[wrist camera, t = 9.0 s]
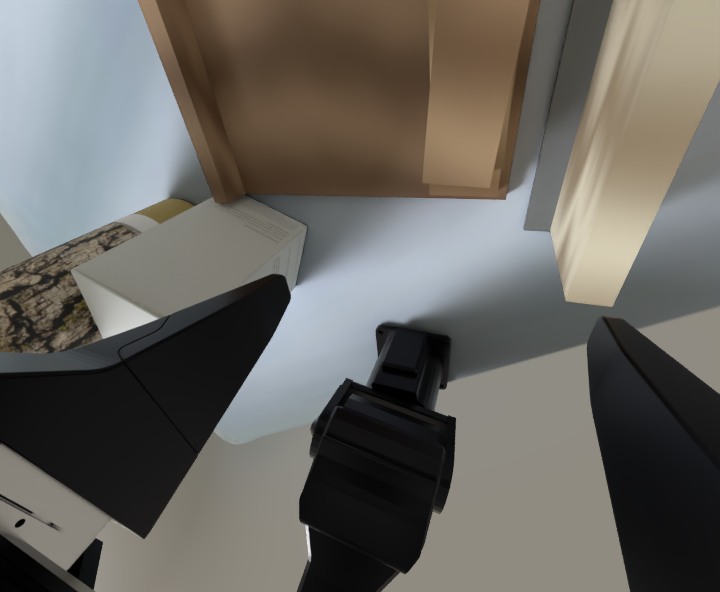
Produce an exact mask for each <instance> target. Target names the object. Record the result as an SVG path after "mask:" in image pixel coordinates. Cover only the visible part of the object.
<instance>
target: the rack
mask: <svg viewBox="0 0 720 592" xmlns="http://www.w3.org/2000/svg"><path fill="white" fill-rule="evenodd" d="M138 2H139V5H140V7H141V10H142V12H143V15H144V18H145V20H146V23H147V25H148V28H149V31H150V33H151V36H152V39H153V41H154V44H155V46H156V49H157V52H158V54H159V57H160V59H161V62H162V65H163V67H164V70H165V72H166V75H167V78H168V80H169V83H170V86H171V88H172V91H173V93H174V96H175V99H176V101H177V104H178V106H179V109H180V112H181V114H182V117H183V119H184V122H185V125H186V127H187V130H188V132H189V135H190V138H191V140H192V143H193V146H194V148H195V151H196V153H197V156H198V159H199V161H200V164H201V166H202V169H203V172H204V174H205V177H206V179H207V182H208V185H209V187H210V190H211V193H212V195H213V198H214V200H215V203H229V202H231V201H233V200H235V199H237V198H239V197H240V196H242V195H244V194H284V195H327V196H370V197H413V198H456V199H499V200H506V195H507V189H508V183H509V178H510V172H511V166H512V160H513V154H514V149H515V143H516V137H517V131H518V126H519V120H520V114H521V108H522V102H523V97H524V91H525V85H526V79H527V73H528V68H529V62H530V56H531V50H532V45H533V39H534V33H535V27H536V21H537V16H538V10H539V4H540V0H530V1H529V6H528V11H527V15H526V20H525V25H524V29H523V34H522V39H521V45H520V51H519V58H518V64H517V70H516V77H515V83H514V90H513V96H512V103H511V109H510V115H509V122H508V132H507V141H506V151H505V160H504V169H501V173H500V180H499V186H498V193H497V197H480V196H432V195H429V184H428V183H422V178H423V166H424V154H425V141H426V129H427V117H428V105H429V92H430V56H429V7H428V0H138Z"/></svg>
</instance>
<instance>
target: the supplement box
mask: <svg viewBox="0 0 720 592" xmlns="http://www.w3.org/2000/svg"><path fill="white" fill-rule="evenodd" d="M306 231H307V226H306V225H304V224H302V223H300V222H298V221H296V220H294V219H292V218H290V217H288V216H286V215H284V214H282V213H280V212H279V211H277V210H274V209H272V208H270V207H269V206H267V205H265V204H263V203H261V202H258V201H256V200H254V199H253V198H250V197H248V196H246V195H242V196H240V197H239V198H237V199H235V200H233V201H231V202H229V203H215V200H214V198H213V197H211V198H209V199H207V200H206V201H204V202H202V203H200V204H198V205H196V206H194V207H192V208H190V209H188V210H186V211H184V212H182V213H180V214H178V215H176V216H175V217H173V218H171V219H169V220H167V221H165V222H163V223H161V224H159V225H157V226H155V227H153V228H151V229H149V230H147V231H145V232H143V233H141V234H139V235H137V236H136V237H134V238H132V239H130V240H128V241H126V242H124V243H122V244H120V245H118V246H116V247H114V248H112V249H110V250H108V251H106V252H104V253H102V254H100V255H98V256H96V257H94V258H93V259H91V260H89V261H87V262H85V263H83V264H81V265H79V266H77V267H75V268H72V269H71V273H72V275H73V277H74V279H75V281H76V283H77V285H78V287H79V289H80V291H81V293H82V295H83V297H84V299H85V301H86V303H87V306H88V308H89V310H90V312H91V314H92V316H93V318H94V321H95V323H96V325H97V327H98V329H99V331H100V333H101V336H102V338H103V339H105V338H107V337H110V336H113V335H116V334H119V333H122V332H125V331H127V330H130V329H133V328H136V327H139V326H141V325H144V324H147V323H149V322H152V321H154V320H157V319H160V318H162V317H165V316H167V315H171V314H172V313H175V312H177V311H180V310H182V309H185V308H187V307H190V306H192V305H195V304H197V303H200V302H202V301H205V300H207V299H210V298H213V297H215V296H218V295H220V294H223V293H225V292H228V291H230V290H233V289H235V288H238V287H240V286H243V285H245V284H248V283H250V282H253V281H255V280H258V279H260V278H263V277H265V276H268V275H270V274H281V275H284V276H285V277H286V280H287V283H288V287H289V290H290V293H291V291H292V290H293V289H294V288H295V285H296V280H297V276H298V271H299V266H300V261H301V256H302V251H303V246H304V241H305V236H306Z"/></svg>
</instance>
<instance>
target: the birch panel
mask: <svg viewBox="0 0 720 592" xmlns="http://www.w3.org/2000/svg"><path fill="white" fill-rule="evenodd" d="M719 81H720V0H613V3H612V6H611V10H610V14H609V17H608V21H607V25H606V28H605V32H604V36H603V39H602V43H601V46H600V50H599V54H598V57H597V61H596V65H595V68H594V72H593V76H592V79H591V83H590V87H589V90H588V94H587V98H586V101H585V105H584V108H583V112H582V116H581V119H580V123H579V127H578V130H577V134H576V138H575V141H574V145H573V149H572V152H571V156H570V159H569V163H568V167H567V170H566V174H565V178H564V181H563V185H562V189H561V192H560V196H559V200H558V203H557V207H556V210H555V214H554V218H553V221H552V225H551V229H550V231H551V236H552V240H553V245H554V250H555V254H556V259H557V263H558V268H559V272H560V277H561V282H562V286H563V291H564V295H565V300H566V301H567V302H575V303H584V304H592V305H600V306H609V307H612V306H613V304H614V302H615V300H616V298H617V296H618V294H619V292H620V290H621V287H622V285H623V283H624V281H625V279H626V277H627V275H628V273H629V271H630V268H631V266H632V264H633V262H634V260H635V258H636V256H637V254H638V252H639V249H640V247H641V245H642V243H643V241H644V239H645V237H646V235H647V233H648V230H649V228H650V226H651V224H652V222H653V220H654V218H655V216H656V214H657V211H658V209H659V207H660V205H661V203H662V201H663V199H664V197H665V195H666V193H667V190H668V188H669V186H670V184H671V182H672V180H673V178H674V176H675V174H676V171H677V169H678V167H679V165H680V163H681V161H682V159H683V157H684V155H685V152H686V150H687V148H688V146H689V144H690V142H691V140H692V138H693V136H694V133H695V131H696V129H697V127H698V125H699V123H700V121H701V119H702V117H703V114H704V112H705V110H706V108H707V106H708V104H709V102H710V100H711V98H712V95H713V93H714V91H715V89H716V87H717V85H718V83H719Z"/></svg>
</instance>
